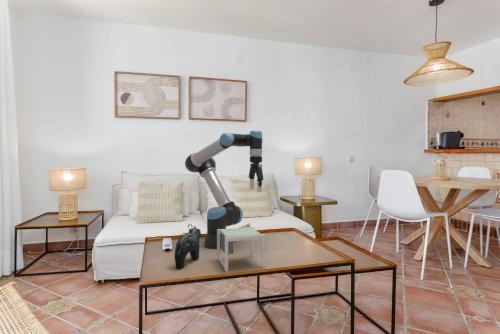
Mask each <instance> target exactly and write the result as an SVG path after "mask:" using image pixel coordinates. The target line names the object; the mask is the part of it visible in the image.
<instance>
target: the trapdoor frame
mask: <svg viewBox="0 0 500 334" xmlns="http://www.w3.org/2000/svg"><path fill="white" fill-rule="evenodd" d="M245 228H253V229H255V227H254V226H250V227H245ZM229 229H244V228H239V227H235V228H233V227H232V228H226V229H217V249H216V261H219V262H220V263H221V266H222V267H223V268H224V272H225V271H226V272H229V254H228V242H231V241H233V242H240V241H241V242H242V241H250V246H249V247H250V255H249V256H250V258H253V257H255V256H254V252H255V251H254V247H255V246H254V245H255V244H254V243H255V240H260V241H261V242H260V245H261V246H260V247H261V248H260V249H261V250H260V254H261V255H260V257H261V258H260V267H261V268H265V266H266V264H265V262H266V261H265V260H266V258H265V257H266V255H265V254H266V252H265V251H266V248H265V247H266V245H265V244H266V242H265V241H266V234H264V233H263V234H261V233H260V234H261V235H248V236H235V237H225V253H224V260H223V259H222V258H221V248H220V233H221V232H220V230H229Z"/></svg>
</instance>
